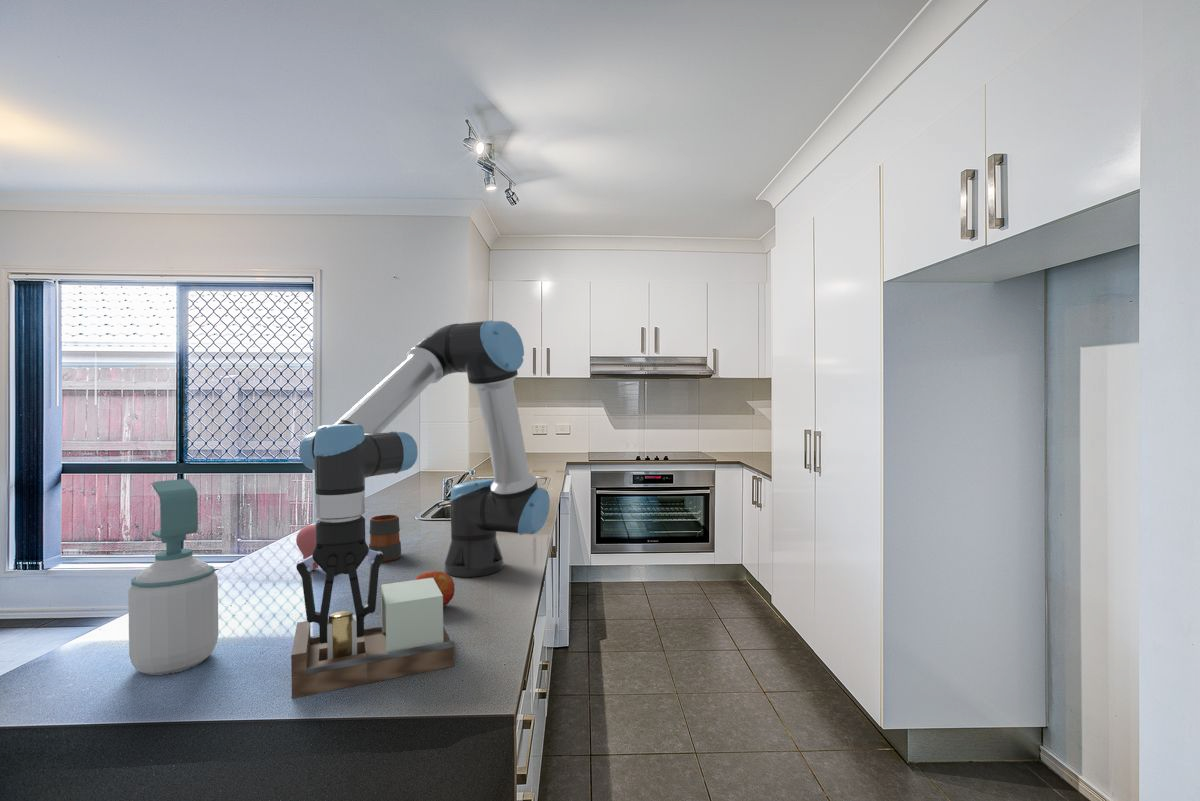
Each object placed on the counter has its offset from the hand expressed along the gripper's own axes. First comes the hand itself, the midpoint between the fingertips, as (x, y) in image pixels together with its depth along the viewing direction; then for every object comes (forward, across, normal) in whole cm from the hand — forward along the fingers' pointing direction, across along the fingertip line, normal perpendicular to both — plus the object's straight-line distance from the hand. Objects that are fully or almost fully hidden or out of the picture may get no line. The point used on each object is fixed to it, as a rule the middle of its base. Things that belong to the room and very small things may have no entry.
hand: (342, 658), depth 95 cm
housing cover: (-1, -11, 0) cm, 11 cm away
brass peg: (+1, 0, 0) cm, 1 cm away
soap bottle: (+2, +26, -15) cm, 30 cm away
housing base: (+2, -5, 0) cm, 5 cm away
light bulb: (+2, +7, -65) cm, 65 cm away
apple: (+2, -18, -22) cm, 28 cm away
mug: (+2, -12, -70) cm, 71 cm away
